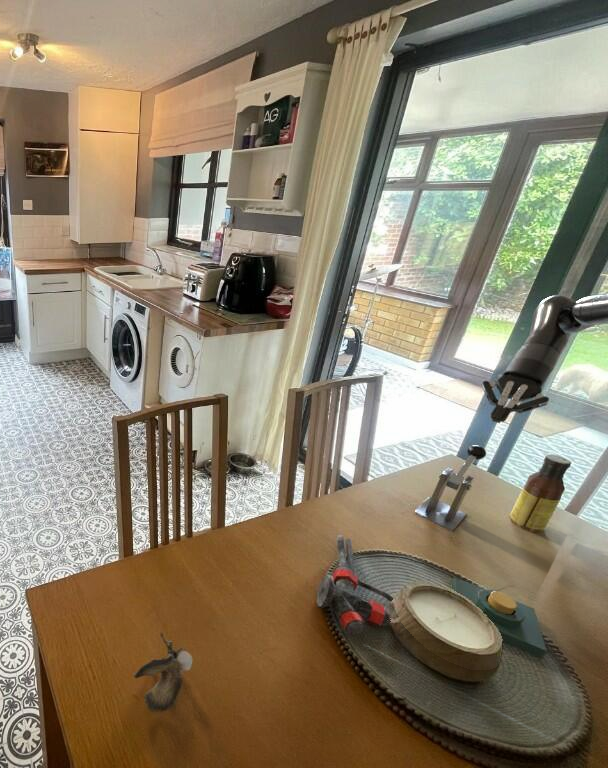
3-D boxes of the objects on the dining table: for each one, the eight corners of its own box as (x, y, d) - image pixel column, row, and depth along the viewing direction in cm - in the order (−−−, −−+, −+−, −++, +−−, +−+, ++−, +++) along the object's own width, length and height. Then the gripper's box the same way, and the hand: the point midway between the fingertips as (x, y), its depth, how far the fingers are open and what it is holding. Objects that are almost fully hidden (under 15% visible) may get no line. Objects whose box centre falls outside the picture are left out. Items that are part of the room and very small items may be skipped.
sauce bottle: (544, 529, 100) (586, 462, 92) (537, 539, 97) (580, 471, 89) (509, 513, 105) (545, 448, 97) (501, 523, 102) (538, 457, 94)
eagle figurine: (146, 639, 73) (122, 677, 66) (172, 623, 70) (150, 663, 62) (176, 677, 71) (155, 722, 64) (204, 663, 68) (185, 709, 60)
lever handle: (469, 448, 105) (472, 440, 103) (487, 455, 103) (490, 446, 101) (442, 485, 101) (444, 477, 99) (459, 493, 99) (463, 485, 96)
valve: (405, 671, 71) (314, 626, 76) (383, 567, 93) (314, 537, 98) (424, 649, 69) (328, 604, 74) (397, 547, 90) (324, 517, 95)
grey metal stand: (428, 500, 109) (445, 460, 104) (465, 517, 104) (485, 476, 98) (412, 515, 104) (430, 474, 99) (450, 534, 98) (471, 492, 93)
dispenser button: (510, 603, 78) (514, 597, 77) (514, 618, 75) (518, 612, 74) (486, 594, 79) (489, 587, 79) (488, 608, 77) (492, 601, 76)
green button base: (528, 615, 79) (538, 601, 78) (541, 659, 72) (552, 644, 70) (450, 584, 86) (457, 571, 84) (454, 621, 78) (462, 607, 76)
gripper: (498, 350, 106) (463, 404, 105) (571, 366, 96) (534, 425, 95) (496, 365, 111) (462, 416, 110) (565, 381, 101) (529, 438, 100)
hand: (496, 420), depth 102 cm, fingers closed
